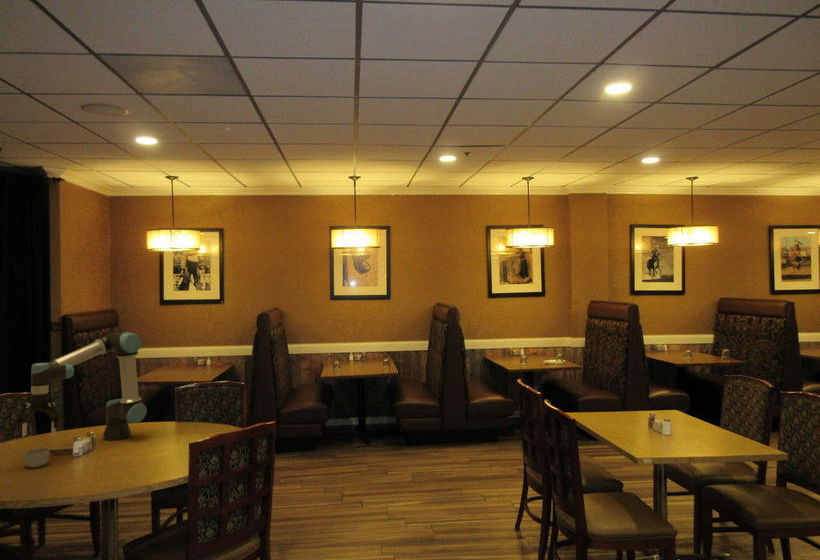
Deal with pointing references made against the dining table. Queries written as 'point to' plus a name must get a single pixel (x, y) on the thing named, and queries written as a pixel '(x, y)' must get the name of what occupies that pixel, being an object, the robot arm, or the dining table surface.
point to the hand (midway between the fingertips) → (39, 435)
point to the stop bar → (61, 451)
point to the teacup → (36, 457)
